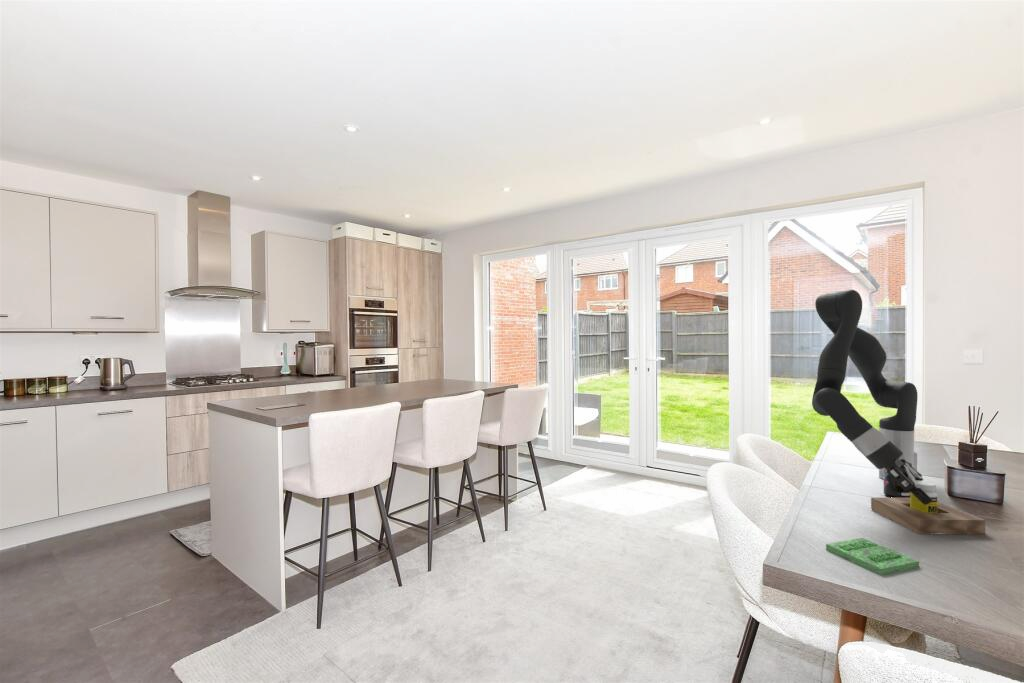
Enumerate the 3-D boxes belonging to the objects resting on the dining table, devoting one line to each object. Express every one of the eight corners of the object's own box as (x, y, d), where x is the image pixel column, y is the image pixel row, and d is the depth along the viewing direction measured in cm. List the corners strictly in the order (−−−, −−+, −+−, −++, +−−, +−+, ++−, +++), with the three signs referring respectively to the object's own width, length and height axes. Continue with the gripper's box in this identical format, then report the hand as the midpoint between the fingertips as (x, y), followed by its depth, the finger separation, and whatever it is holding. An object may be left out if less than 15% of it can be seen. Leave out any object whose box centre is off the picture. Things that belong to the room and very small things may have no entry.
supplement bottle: (931, 525, 121) (931, 487, 120) (905, 518, 125) (905, 481, 125) (941, 521, 123) (941, 484, 123) (916, 514, 128) (916, 478, 128)
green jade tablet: (880, 578, 97) (880, 566, 97) (826, 552, 108) (826, 541, 108) (918, 570, 100) (919, 558, 100) (862, 546, 111) (862, 535, 111)
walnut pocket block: (928, 510, 132) (929, 497, 132) (985, 534, 116) (985, 520, 116) (871, 509, 132) (871, 497, 132) (919, 534, 116) (919, 519, 116)
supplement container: (897, 492, 147) (897, 459, 146) (918, 500, 140) (918, 465, 140) (877, 493, 146) (877, 459, 146) (897, 501, 139) (897, 465, 139)
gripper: (884, 444, 124) (942, 497, 116) (892, 435, 134) (946, 484, 126) (859, 460, 128) (914, 513, 120) (869, 451, 138) (920, 499, 130)
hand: (930, 498), depth 123 cm, fingers open, 8 cm apart
